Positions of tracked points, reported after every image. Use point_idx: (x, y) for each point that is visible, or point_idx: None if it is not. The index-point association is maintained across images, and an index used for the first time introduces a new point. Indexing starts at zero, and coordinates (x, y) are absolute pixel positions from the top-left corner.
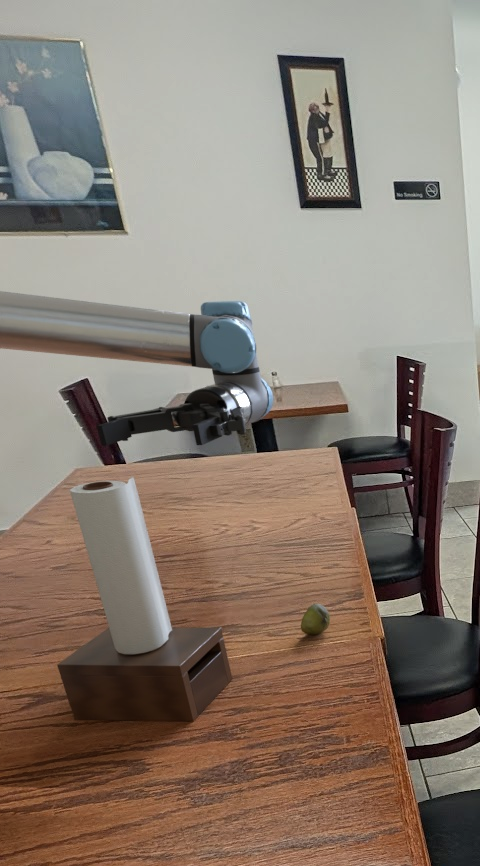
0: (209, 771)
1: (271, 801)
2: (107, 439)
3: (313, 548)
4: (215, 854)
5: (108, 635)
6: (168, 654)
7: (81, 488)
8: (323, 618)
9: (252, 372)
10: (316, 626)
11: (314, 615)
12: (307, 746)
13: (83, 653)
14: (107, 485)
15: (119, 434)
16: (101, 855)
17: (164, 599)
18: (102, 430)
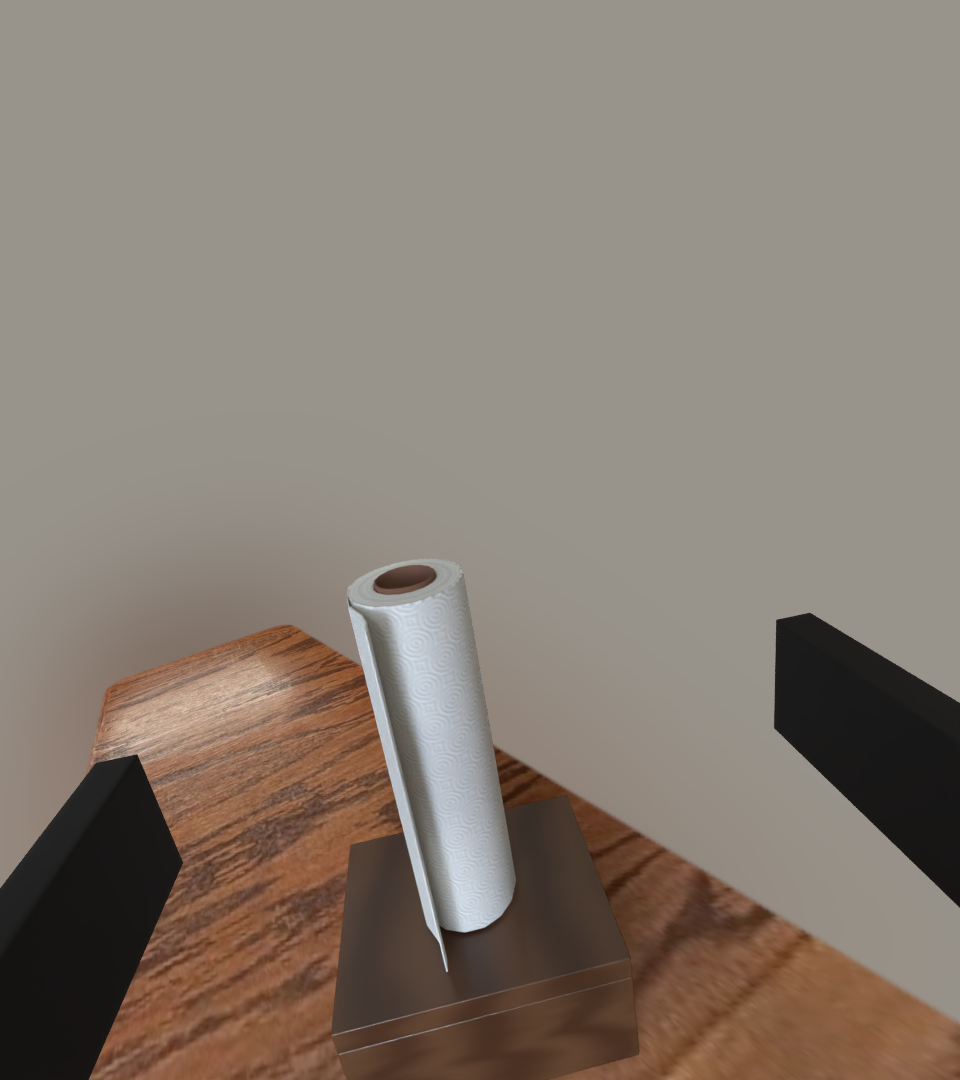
0: (301, 830)
1: (216, 808)
2: (792, 714)
3: None
4: (259, 746)
5: (585, 913)
6: (392, 873)
7: (434, 569)
8: None
9: None
10: None
11: None
12: (173, 911)
13: (559, 834)
14: (375, 579)
15: (922, 824)
16: (357, 722)
17: (432, 911)
18: (776, 645)
